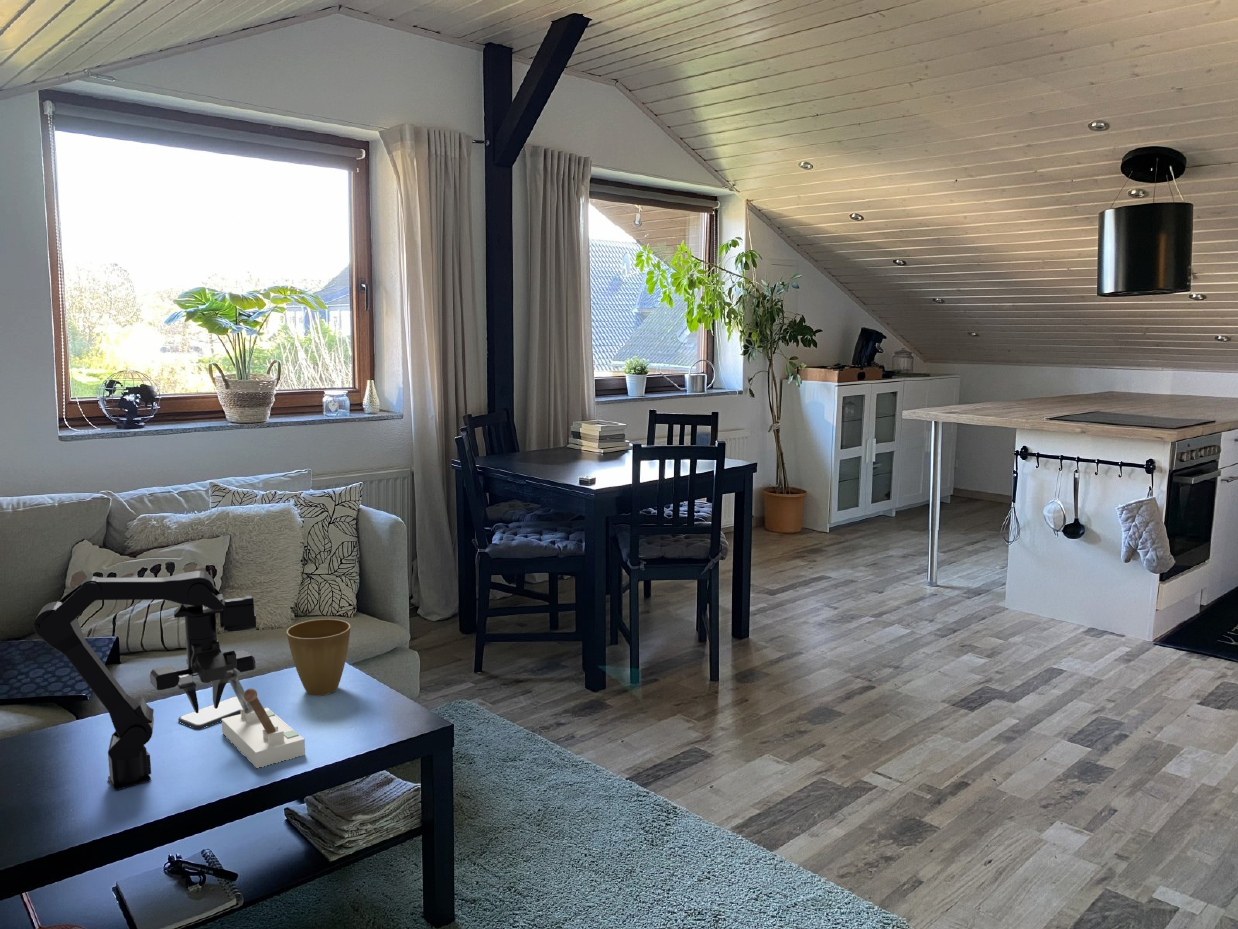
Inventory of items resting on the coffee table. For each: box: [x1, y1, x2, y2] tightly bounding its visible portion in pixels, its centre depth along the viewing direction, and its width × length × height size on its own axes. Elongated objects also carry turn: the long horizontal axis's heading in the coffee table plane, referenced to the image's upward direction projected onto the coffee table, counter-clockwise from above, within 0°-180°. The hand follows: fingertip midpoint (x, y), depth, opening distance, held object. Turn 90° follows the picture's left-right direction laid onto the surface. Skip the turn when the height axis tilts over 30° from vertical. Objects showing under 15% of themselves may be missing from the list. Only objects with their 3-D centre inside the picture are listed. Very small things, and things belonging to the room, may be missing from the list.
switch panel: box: [221, 707, 306, 769], centre depth 202 cm, size 10×22×6 cm, turn 39°
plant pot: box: [286, 618, 351, 697], centre depth 232 cm, size 15×15×16 cm
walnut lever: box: [244, 688, 276, 734], centre depth 195 cm, size 3×3×12 cm
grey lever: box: [228, 668, 253, 713], centre depth 205 cm, size 3×3×12 cm
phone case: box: [178, 695, 243, 730], centre depth 219 cm, size 9×2×16 cm
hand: (206, 710), depth 190 cm, fingers open, 3 cm apart
